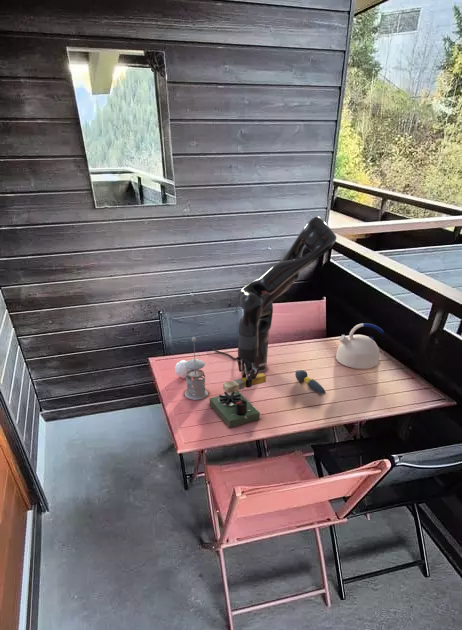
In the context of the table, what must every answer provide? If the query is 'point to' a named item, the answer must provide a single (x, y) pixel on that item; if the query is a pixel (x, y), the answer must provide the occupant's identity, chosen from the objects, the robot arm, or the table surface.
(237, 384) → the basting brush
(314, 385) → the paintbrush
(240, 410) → the stove knob
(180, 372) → the ball
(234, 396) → the burner
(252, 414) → the stove
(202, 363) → the french press
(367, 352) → the kettle
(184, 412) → the table surface
